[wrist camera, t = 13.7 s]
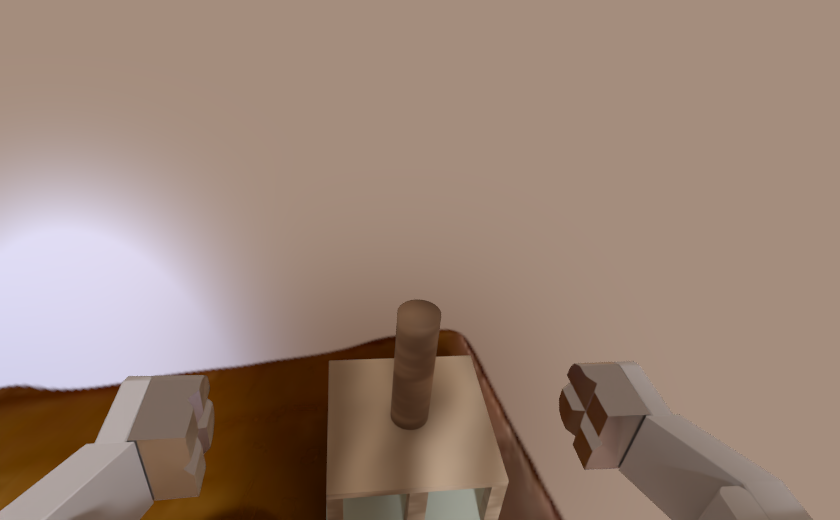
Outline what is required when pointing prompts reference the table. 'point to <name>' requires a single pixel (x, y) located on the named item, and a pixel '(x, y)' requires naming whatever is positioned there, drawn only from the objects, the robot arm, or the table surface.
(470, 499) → the mat
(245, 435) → the table surface
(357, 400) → the wooden peg stand
